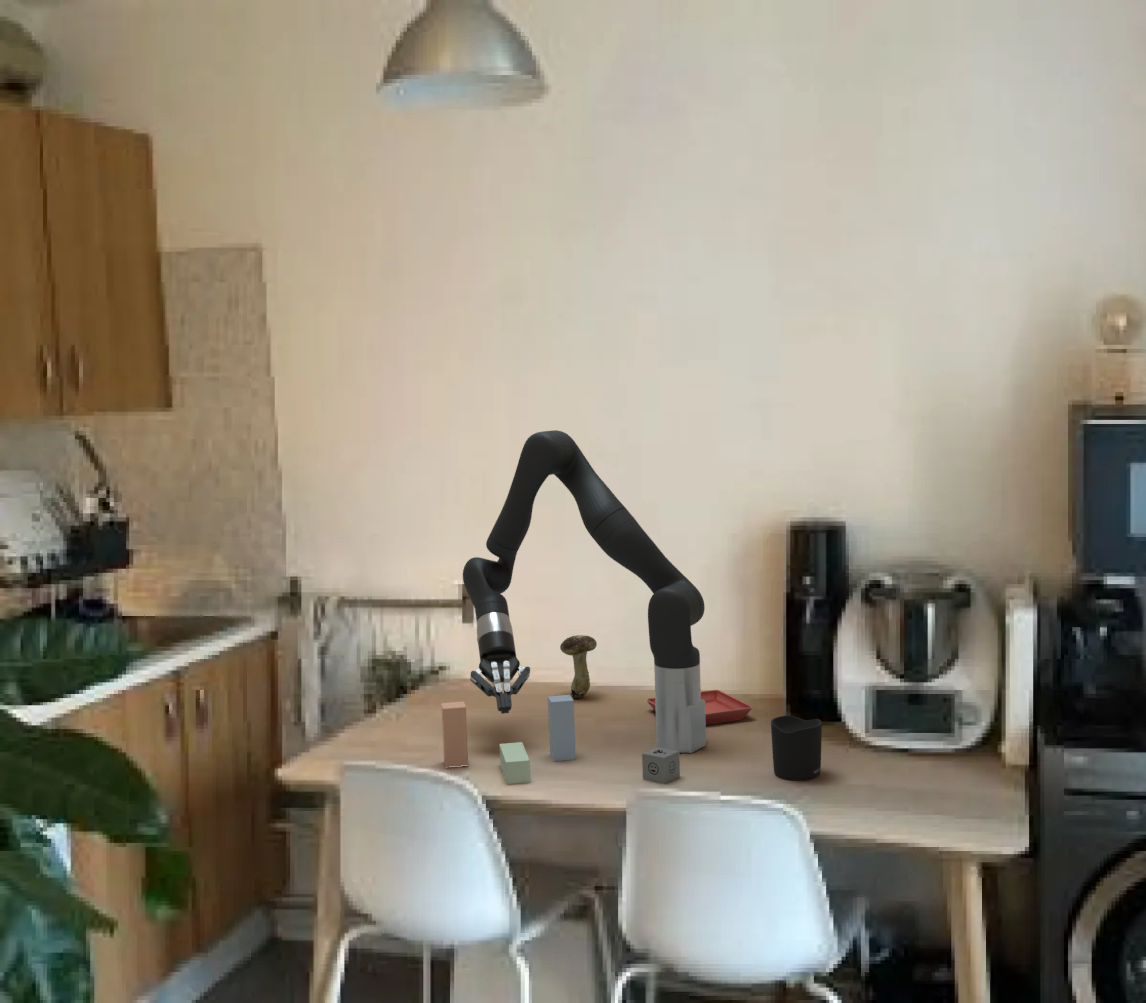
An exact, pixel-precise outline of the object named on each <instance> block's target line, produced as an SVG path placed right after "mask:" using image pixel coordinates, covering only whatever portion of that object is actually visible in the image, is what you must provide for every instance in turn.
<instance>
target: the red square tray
mask: <svg viewBox="0 0 1146 1003" xmlns="http://www.w3.org/2000/svg"><path fill="white" fill-rule="evenodd" d="M701 699H703V700H705V718H706V726H707V725H712V724H721V723H728V722H734V721H735V722H736V721H742V720H743V719H744V718H745V717H746V716H747V715H748V714H749V713H750V712H751V711H752V709H753V706H752V705H749V704H748V703H746V702H744V701H742V700H740V699H737V698H735V697H733V696H732V695H730V694H728V693H725V692H724V691H721V690H720V689H713V690H704V691H701ZM646 701H647V703H648V704H649V706H650V707H651V708H652V709H653V710H654V711H655V712H656V706H655V697H650V698H647V699H646Z"/></svg>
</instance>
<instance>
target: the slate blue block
mask: <svg viewBox="0 0 1146 1003" xmlns="http://www.w3.org/2000/svg"><path fill="white" fill-rule="evenodd" d="M574 701H575V700H574V699H573V697H572V695H571V694H564V695H563V694H562V695H551V696H547V711H548V713H547V714H548V733H549V734H548V735H549V736H548V738H549V739H548V741H549V755H550V757H551V759H552V761H553V762H561V761H563V762H564V761H571V760H573V761H575V760H577V757H576V756H577V754H576V751H577V750H576V730H575V726H576V725H575V704H574Z"/></svg>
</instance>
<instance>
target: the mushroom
mask: <svg viewBox="0 0 1146 1003" xmlns="http://www.w3.org/2000/svg"><path fill="white" fill-rule="evenodd" d="M597 645H598V643H597V641H596V639H595V638H594V637H592V636H590V635H583V634H580V635H579V634H578V635H572V636H569V637H567V638H566V639H564V640H563V641H562V642H561V643H560V647H559V648H560V651H561V652H562V653H563V654H565V655H566V656H572V659H573V660H572V661H573V669H574V677H573V679H572V681H571V685H570V690H571V693H570V695H571V697H572V698H574V699H583V698H584V696H585V695H586V694H587V693H588V691H589V690H590V687H591V682H590V679H591V678H590V672H589V669H588V663H587V656H588V655H587V654H588V652H592V651H594V650H595V648H597Z"/></svg>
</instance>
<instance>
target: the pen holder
mask: <svg viewBox="0 0 1146 1003" xmlns="http://www.w3.org/2000/svg"><path fill="white" fill-rule="evenodd" d="M822 724H823V722H822V720H821V719H819V718H815V719H814V718H813V719H809V720H806V719H802V718H801V717H797V716H793V715H782V716H778V717H774V718H772V719H771V720H770V730H771V732H770V733H771V748H772V749H771V750H772V762H773V765H772V766H773V772H774V774H775V775H776V776H777V777H779V778H781V779H783V780H789V781H809V780H813V779H815V778H817V777H819V775H820V774H821V770H822V769H821V768H822V767H821V766H822V740H823V739H822V738H823V737H822V735H823V734H822V732H823V731H822V730H823V728H822V726H823V725H822Z"/></svg>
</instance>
